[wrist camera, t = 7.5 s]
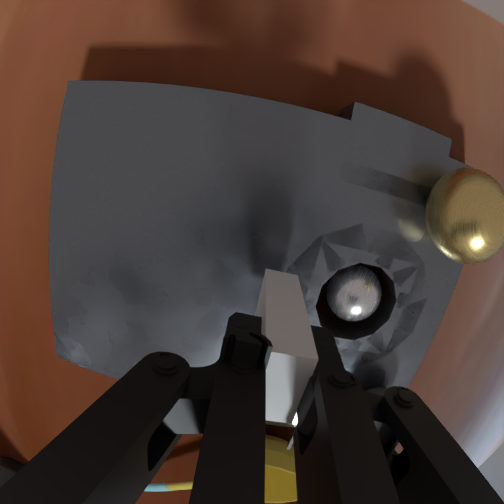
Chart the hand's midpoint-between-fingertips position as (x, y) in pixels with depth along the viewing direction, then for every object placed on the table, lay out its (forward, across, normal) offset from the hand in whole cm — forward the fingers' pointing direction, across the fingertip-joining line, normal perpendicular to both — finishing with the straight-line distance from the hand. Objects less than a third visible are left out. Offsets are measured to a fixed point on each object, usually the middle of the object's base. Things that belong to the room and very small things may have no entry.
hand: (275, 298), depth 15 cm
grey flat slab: (+4, -1, 0) cm, 4 cm away
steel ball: (+3, +5, 0) cm, 5 cm away
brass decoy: (-1, +8, +6) cm, 10 cm away
